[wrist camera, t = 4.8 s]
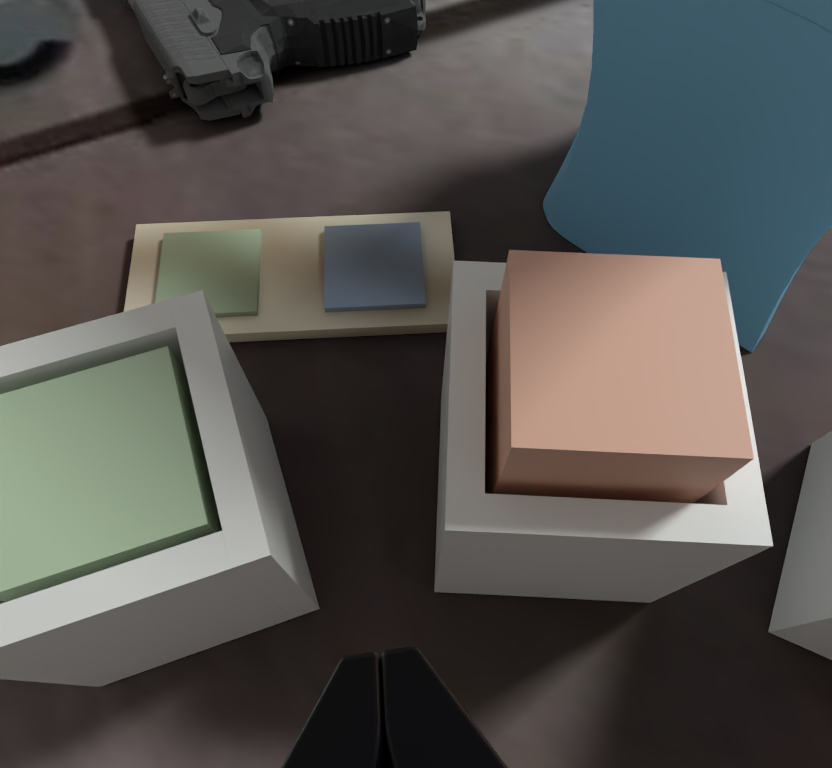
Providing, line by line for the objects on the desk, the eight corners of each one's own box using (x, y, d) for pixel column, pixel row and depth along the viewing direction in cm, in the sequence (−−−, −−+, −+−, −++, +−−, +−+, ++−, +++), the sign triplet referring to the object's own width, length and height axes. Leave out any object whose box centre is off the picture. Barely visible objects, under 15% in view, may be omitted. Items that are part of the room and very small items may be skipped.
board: (459, 331, 25) (461, 318, 24) (126, 347, 25) (116, 334, 24) (449, 221, 27) (450, 206, 26) (142, 234, 27) (133, 219, 26)
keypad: (1106, 728, 20) (1508, 737, 12) (18, 798, 19) (-227, 853, 12) (952, 371, 25) (1176, 228, 17) (81, 414, 24) (-65, 283, 16)
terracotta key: (639, 543, 19) (754, 458, 13) (478, 535, 19) (511, 447, 13) (626, 396, 21) (720, 258, 14) (480, 389, 21) (508, 250, 15)
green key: (270, 581, 21) (207, 523, 14) (121, 632, 20) (-14, 596, 14) (237, 449, 22) (167, 345, 16) (99, 493, 22) (-30, 402, 15)
